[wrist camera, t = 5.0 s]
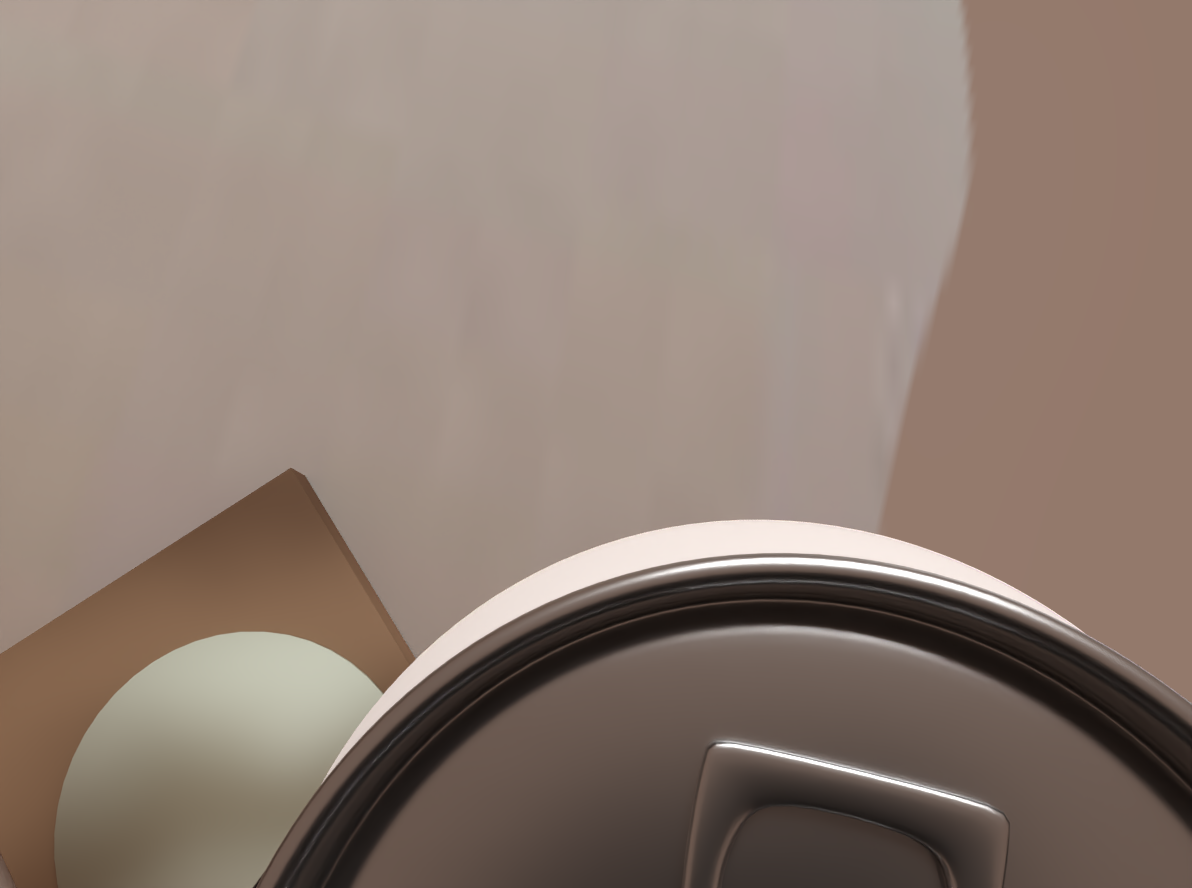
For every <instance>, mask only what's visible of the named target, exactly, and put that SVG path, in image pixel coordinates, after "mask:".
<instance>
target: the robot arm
mask: <svg viewBox="0 0 1192 888" xmlns="http://www.w3.org/2000/svg"><path fill="white" fill-rule="evenodd" d="M264 872H265V871H264ZM263 874H264V873H263ZM263 874H262V876H263ZM262 876H261V877H262ZM261 877H260V878H259V880H258V881H257V882H256V884H255V885H254V886H253V888H256V887H257V885H258V883H259V881H260V879H261Z"/></svg>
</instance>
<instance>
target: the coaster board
mask: <svg viewBox="0 0 1192 888" xmlns="http://www.w3.org/2000/svg"><path fill="white" fill-rule="evenodd" d="M415 660H416V659H415V657H414V656H413V654H412V652H411V651H410V649H409V647H408V646H407V644H406V642H405V641H404V639H403V637H402V636H401V634H400V632H399V631H398V629H397V627H396V626H395V624H394V622H393V621H392V619H391V617H390V616H389V614H388V613H387V611H386V609H385V608H384V606H383V604H382V603H381V601H380V599H379V598H378V596H377V594H376V593H375V591H374V589H373V588H372V586H371V584H370V583H369V581H368V579H367V578H366V576H365V574H364V573H363V571H362V569H361V568H360V566H359V564H358V563H357V561H356V560H355V558H354V556H353V555H352V553H351V551H350V550H349V548H348V546H347V545H346V543H345V541H344V540H343V538H342V536H341V535H340V533H339V531H338V530H337V528H336V526H335V525H334V523H333V521H332V520H331V518H330V516H329V515H328V513H327V512H326V510H325V508H324V507H323V505H322V503H321V502H320V500H319V498H318V497H317V495H316V493H315V492H314V490H313V488H312V487H311V485H310V483H309V482H308V480H307V478H306V477H305V475H303V474H301V473H299V472H297V471H296V470H294V469H292V468H290V469H288V470H287V471H285V472H284V473H282V474H281V475H279V476H277V477H276V478H274V479H273V480H271V481H270V482H268V483H266V484H265V485H263V486H262V487H260V488H259V489H257V490H256V491H254V492H252V493H251V494H249V495H248V496H246V497H245V498H243V499H242V500H240V501H238V502H237V503H235V504H234V505H232V506H231V507H229V508H227V509H226V510H224V511H223V512H221V513H220V514H218V515H217V516H215V517H213V518H212V519H210V520H209V521H207V522H206V523H204V524H203V525H201V526H199V527H198V528H196V529H195V530H193V531H192V532H190V533H189V534H187V535H185V536H184V537H182V538H181V539H179V540H178V541H176V542H174V543H173V544H171V545H170V546H168V547H167V548H165V549H164V550H162V551H160V552H159V553H157V554H156V555H154V556H153V557H151V558H150V559H148V560H146V561H145V562H143V563H142V564H140V565H139V566H137V567H135V568H134V569H132V570H131V571H129V572H128V573H126V574H125V575H123V576H121V577H120V578H118V579H117V580H115V581H114V582H112V583H111V584H109V585H107V586H106V587H104V588H103V589H101V590H100V591H98V592H96V593H95V594H93V595H92V596H90V597H89V598H87V599H86V600H84V601H82V602H81V603H79V604H78V605H76V606H75V607H73V608H72V609H70V610H68V611H67V612H65V613H64V614H62V615H61V616H59V617H57V618H56V619H54V620H53V621H51V622H50V623H48V624H47V625H45V626H43V627H42V628H40V629H39V630H37V631H36V632H34V633H33V634H31V635H29V636H28V637H26V638H25V639H23V640H22V641H20V642H19V643H17V644H15V645H14V646H12V647H11V648H9V649H8V650H6V651H4V652H3V653H1V654H0V853H1V855H2V857H3V859H4V861H5V864H6V866H7V868H8V870H9V872H10V874H11V876H12V878H13V881H14V883H15V885H16V887H17V888H253V886H254V885H255V884H256V882H257V881H258V880H259V878H260V877H261V876H262V874H263V873H264V871H265V870H266V868H267V867H268V865H269V863H270V861H271V860H272V858H273V856H274V854H275V852H276V851H277V849H278V847H279V846H280V844H281V843H282V841H283V839H284V838H285V836H286V835H287V833H288V831H289V830H290V828H291V827H292V825H293V824H294V822H295V821H296V819H297V818H298V816H299V815H300V813H301V812H302V810H303V809H304V807H305V806H306V805H307V803H308V802H309V800H310V799H311V798H312V796H313V795H314V794H315V792H316V791H317V790H318V788H319V787H320V786H321V784H322V782H323V780H324V778H325V777H326V775H327V773H328V771H329V770H330V768H331V766H332V765H333V763H334V762H335V760H336V758H337V757H338V755H339V754H340V752H341V750H342V749H343V747H344V746H345V744H346V743H347V741H348V740H349V739H350V737H351V736H352V734H353V733H354V731H355V730H356V728H357V727H358V726H359V724H360V723H361V722H362V720H363V719H364V718H365V716H366V715H367V714H368V713H369V711H370V710H371V709H372V707H373V706H374V705H375V704H376V703H377V701H378V700H379V699H380V698H381V697H382V695H383V694H384V693H385V692H386V691H387V689H388V688H389V687H390V686H391V685H392V684H393V683H394V682H395V681H396V679H397V678H398V677H399V676H400V675H401V674H402V673H403V672H404V671H405V670H406V669H407V668H408V667H409V666H410V665H411V664H412V663H413V662H414V661H415Z"/></svg>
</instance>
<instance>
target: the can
mask: <svg viewBox="0 0 1192 888" xmlns="http://www.w3.org/2000/svg"><path fill="white" fill-rule="evenodd" d="M256 888H1192V703H1191V702H1189V701H1188V700H1187V699H1185V698H1184V697H1183V696H1181V695H1180V694H1179V693H1177V692H1176V691H1175V690H1173V689H1172V688H1170V687H1169V686H1168V685H1166V684H1165V683H1164V682H1162V681H1161V680H1160V679H1158V678H1157V677H1155V676H1153V675H1152V674H1151V673H1149V672H1148V671H1146V670H1145V669H1143V668H1141V667H1140V666H1139V665H1137V664H1136V663H1134V662H1133V661H1131V660H1129V659H1128V658H1126V657H1125V656H1123V655H1121V654H1119V653H1118V652H1116V651H1114V650H1113V649H1111V648H1110V647H1108V646H1106V645H1105V644H1103V643H1101V642H1099V641H1098V640H1096V639H1094V638H1092V637H1090V636H1089V635H1087V634H1085V633H1084V632H1083V631H1081V630H1080V629H1079V628H1077V627H1076V626H1074V625H1073V624H1072V623H1070V622H1069V621H1067V620H1066V619H1064V618H1063V617H1061V616H1060V615H1058V614H1057V613H1055V612H1054V611H1052V610H1051V609H1049V608H1048V607H1046V606H1044V605H1043V604H1041V603H1039V602H1038V601H1036V600H1035V599H1033V598H1031V597H1030V596H1028V595H1026V594H1025V593H1023V592H1021V591H1019V590H1017V589H1015V588H1014V587H1012V586H1010V585H1008V584H1006V583H1005V582H1003V581H1000V580H998V579H996V578H994V577H992V576H990V575H988V574H986V573H984V572H982V571H980V570H978V569H976V568H973V567H971V566H969V565H967V564H964V563H962V562H960V561H957V560H955V559H952V558H950V557H947V556H945V555H942V554H939V553H937V552H934V551H931V550H928V549H925V548H922V547H919V546H916V545H913V544H910V543H906V542H903V541H900V540H896V539H893V538H889V537H886V536H882V535H878V534H873V533H869V532H865V531H860V530H855V529H849V528H844V527H839V526H832V525H825V524H817V523H809V522H797V521H783V520H731V521H715V522H705V523H696V524H688V525H682V526H676V527H669V528H664V529H660V530H655V531H650V532H645V533H641V534H638V535H634V536H630V537H626V538H622V539H619V540H616V541H613V542H609V543H606V544H603V545H600V546H597V547H595V548H592V549H589V550H586V551H584V552H581V553H578V554H576V555H574V556H571V557H569V558H566V559H564V560H562V561H559V562H557V563H555V564H553V565H551V566H549V567H547V568H545V569H542V570H540V571H538V572H536V573H534V574H533V575H531V576H529V577H527V578H525V579H523V580H521V581H520V582H518V583H516V584H514V585H513V586H511V587H509V588H508V589H506V590H504V591H503V592H501V593H499V594H498V595H496V596H495V597H493V598H492V599H490V600H489V601H487V602H486V603H484V604H483V605H481V606H480V607H478V608H477V609H475V610H474V611H473V612H471V613H470V614H469V615H467V616H466V617H465V618H463V619H462V620H461V621H459V622H458V623H457V624H455V625H454V626H453V627H452V628H451V629H449V630H448V631H447V632H446V633H445V634H443V635H442V636H441V637H440V638H439V639H437V640H436V641H435V642H434V643H433V644H432V645H431V646H430V647H429V648H427V649H426V650H425V651H424V652H423V653H422V654H421V655H420V656H419V657H418V658H417V659H416V660H415V661H414V662H413V663H412V664H411V665H410V666H409V667H408V668H407V669H406V670H405V671H404V672H403V673H402V674H401V675H400V676H399V677H398V678H397V679H396V681H395V682H394V683H393V684H392V685H391V686H390V687H389V688H388V689H387V691H386V692H385V693H384V694H383V695H382V697H381V698H380V699H379V700H378V701H377V703H376V704H375V705H374V706H373V707H372V709H371V710H370V711H369V713H368V714H367V715H366V716H365V718H364V719H363V720H362V722H361V723H360V724H359V726H358V727H357V728H356V730H355V731H354V733H353V734H352V736H351V737H350V739H349V740H348V741H347V743H346V744H345V746H344V747H343V749H342V750H341V752H340V754H339V755H338V757H337V758H336V760H335V762H334V763H333V765H332V766H331V768H330V770H329V771H328V773H327V775H326V777H325V778H324V780H323V782H322V784H321V786H320V787H319V788H318V790H317V791H316V792H315V794H314V795H313V796H312V798H311V799H310V800H309V802H308V803H307V805H306V806H305V807H304V809H303V810H302V812H301V813H300V815H299V816H298V818H297V819H296V821H295V822H294V824H293V825H292V827H291V828H290V830H289V831H288V833H287V835H286V836H285V838H284V839H283V841H282V843H281V844H280V846H279V847H278V849H277V851H276V852H275V854H274V856H273V858H272V860H271V861H270V863H269V865H268V867H267V868H266V870H265V872H264V874H263V876H262V877H261V879H260V881H259V883H258V885H257V887H256Z"/></svg>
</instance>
